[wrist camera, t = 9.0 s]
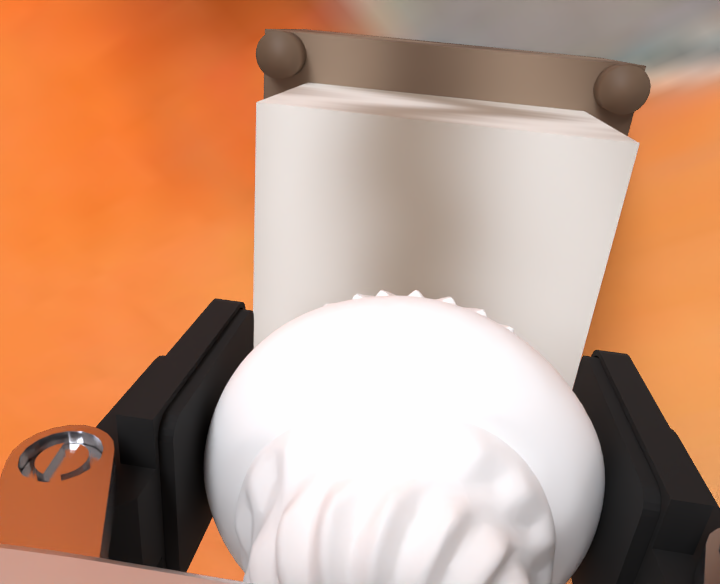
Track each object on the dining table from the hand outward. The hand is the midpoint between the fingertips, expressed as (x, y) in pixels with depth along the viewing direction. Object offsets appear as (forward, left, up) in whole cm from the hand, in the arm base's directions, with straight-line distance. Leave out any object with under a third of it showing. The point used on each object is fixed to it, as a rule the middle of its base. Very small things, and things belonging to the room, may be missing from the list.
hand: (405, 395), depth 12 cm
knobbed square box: (0, 0, -17) cm, 17 cm away
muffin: (0, 0, -1) cm, 1 cm away
